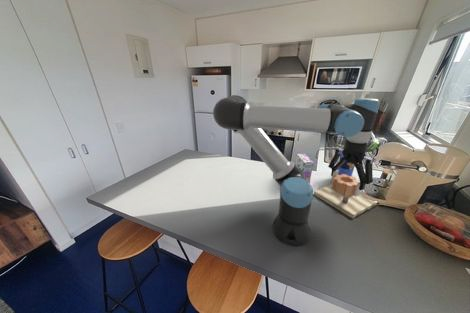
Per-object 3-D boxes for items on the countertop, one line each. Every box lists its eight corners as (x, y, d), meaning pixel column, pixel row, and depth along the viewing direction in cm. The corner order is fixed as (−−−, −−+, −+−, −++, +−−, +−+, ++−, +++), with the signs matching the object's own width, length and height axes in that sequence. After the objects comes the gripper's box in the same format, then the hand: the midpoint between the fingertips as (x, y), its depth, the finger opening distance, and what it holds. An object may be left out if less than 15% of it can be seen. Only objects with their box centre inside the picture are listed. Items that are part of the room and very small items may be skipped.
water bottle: (354, 180, 113) (364, 144, 103) (343, 183, 110) (353, 146, 100) (341, 174, 121) (350, 139, 111) (331, 176, 118) (339, 141, 108)
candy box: (309, 186, 107) (314, 162, 101) (299, 186, 107) (303, 162, 101) (302, 175, 120) (305, 153, 113) (293, 175, 120) (296, 153, 114)
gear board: (352, 218, 82) (356, 204, 79) (313, 194, 100) (316, 182, 97) (379, 203, 92) (384, 190, 89) (340, 183, 110) (343, 172, 107)
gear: (348, 198, 71) (351, 188, 69) (326, 187, 79) (328, 177, 77) (362, 192, 75) (365, 181, 73) (340, 181, 83) (343, 172, 81)
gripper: (397, 147, 60) (378, 200, 69) (336, 132, 79) (327, 175, 87) (385, 151, 57) (366, 206, 66) (325, 134, 76) (316, 179, 84)
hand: (344, 189), depth 77 cm, fingers closed on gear, 10 cm apart
